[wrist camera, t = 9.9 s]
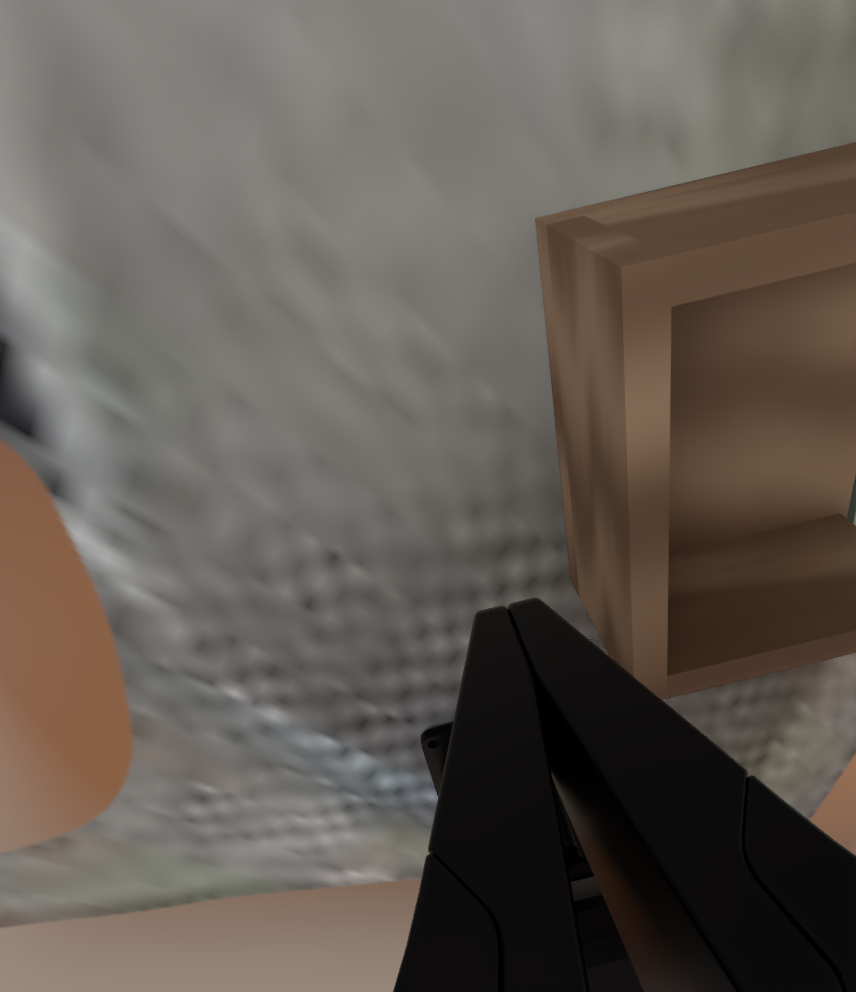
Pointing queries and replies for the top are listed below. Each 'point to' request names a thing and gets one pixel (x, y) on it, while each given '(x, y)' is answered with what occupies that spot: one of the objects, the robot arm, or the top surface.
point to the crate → (710, 418)
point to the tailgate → (852, 505)
